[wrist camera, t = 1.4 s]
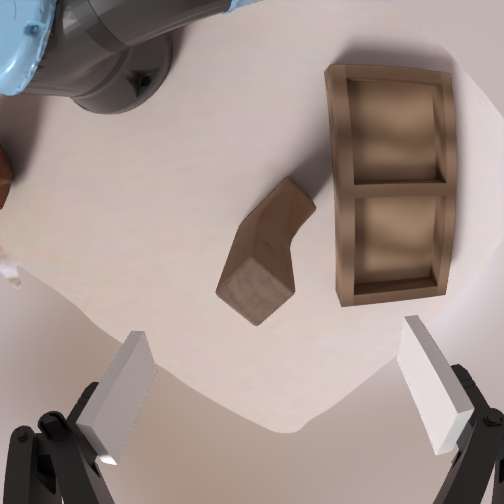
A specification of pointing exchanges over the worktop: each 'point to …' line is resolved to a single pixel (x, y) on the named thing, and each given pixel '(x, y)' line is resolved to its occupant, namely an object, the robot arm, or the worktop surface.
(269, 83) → the worktop surface
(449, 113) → the tray
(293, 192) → the wooden block
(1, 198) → the butternut squash
